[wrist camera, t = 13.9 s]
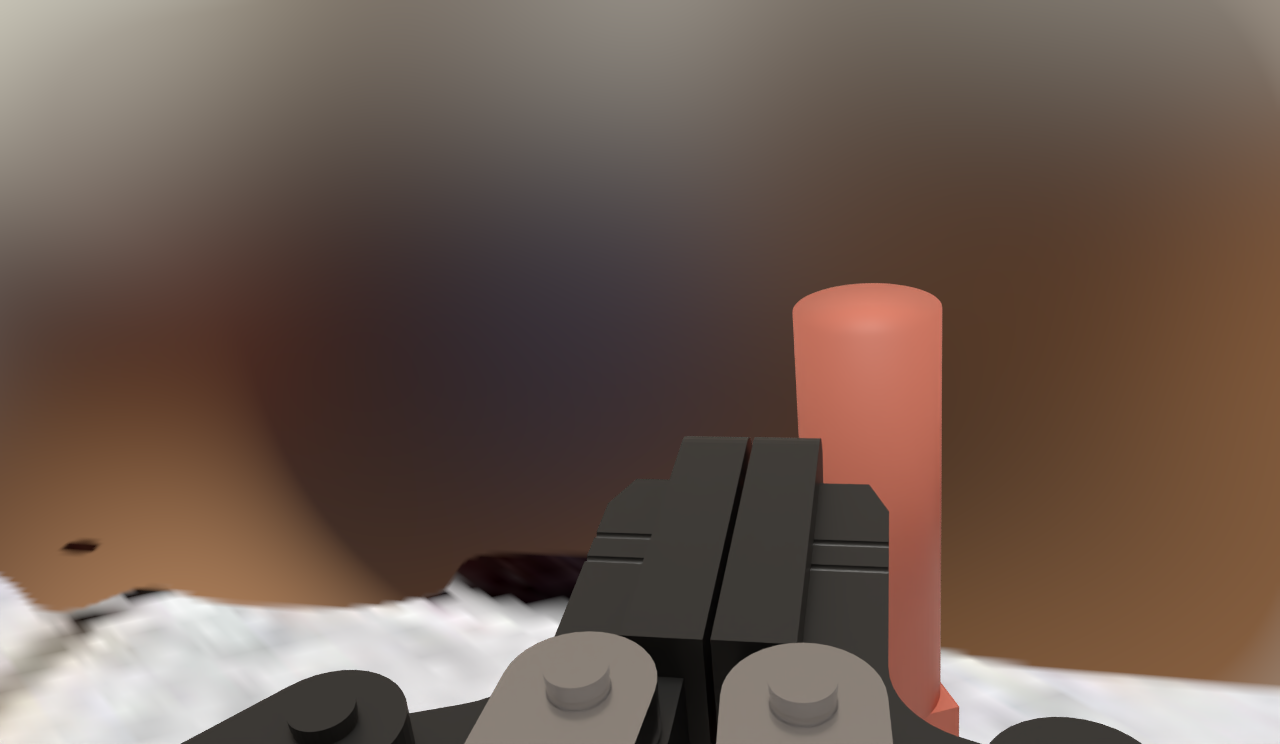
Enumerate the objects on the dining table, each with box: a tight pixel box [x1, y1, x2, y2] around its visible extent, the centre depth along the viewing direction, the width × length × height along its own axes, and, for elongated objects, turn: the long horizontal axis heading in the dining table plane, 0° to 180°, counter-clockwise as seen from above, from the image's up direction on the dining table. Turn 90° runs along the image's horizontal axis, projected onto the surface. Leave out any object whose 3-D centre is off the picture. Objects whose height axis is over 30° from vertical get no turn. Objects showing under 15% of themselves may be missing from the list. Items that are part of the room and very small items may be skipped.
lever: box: [793, 283, 959, 737], centre depth 23 cm, size 4×16×10 cm, turn 103°
